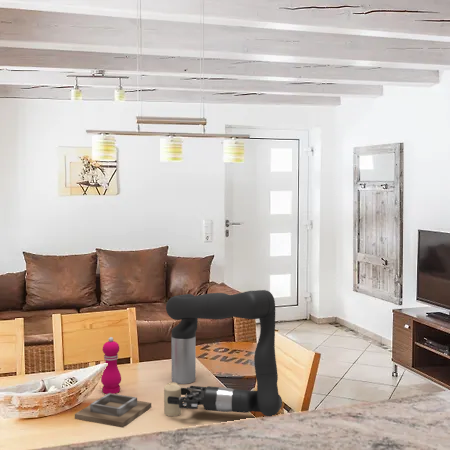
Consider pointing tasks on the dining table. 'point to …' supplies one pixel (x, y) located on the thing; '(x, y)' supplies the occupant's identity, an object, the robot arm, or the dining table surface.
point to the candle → (173, 391)
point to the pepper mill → (111, 368)
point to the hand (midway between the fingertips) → (171, 395)
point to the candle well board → (113, 410)
